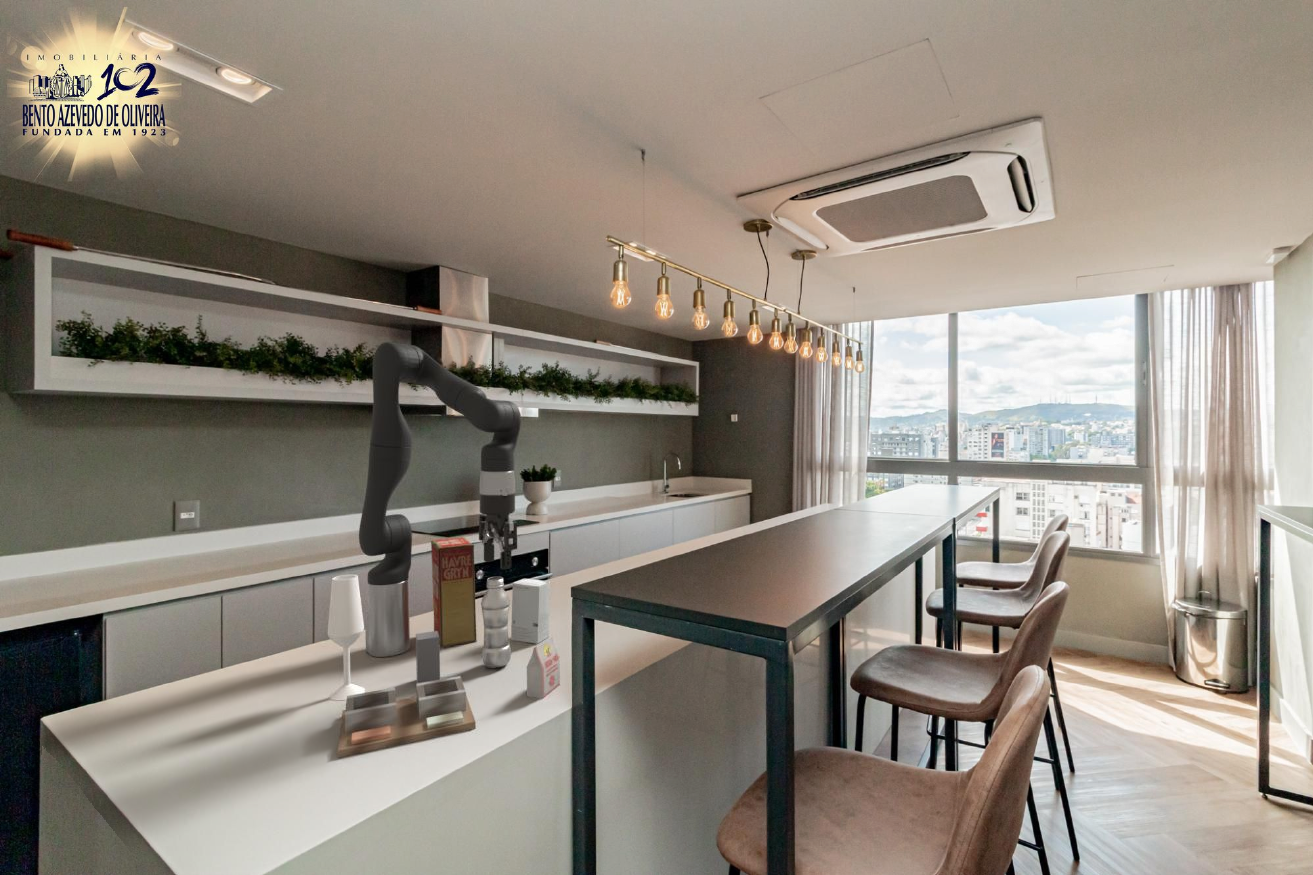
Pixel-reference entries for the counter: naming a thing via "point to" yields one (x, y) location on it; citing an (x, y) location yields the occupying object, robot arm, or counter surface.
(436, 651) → the plug
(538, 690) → the small milk carton
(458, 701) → the socket board
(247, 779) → the counter surface
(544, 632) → the skincare box
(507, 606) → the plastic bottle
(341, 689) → the champagne flute
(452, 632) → the food packaging
